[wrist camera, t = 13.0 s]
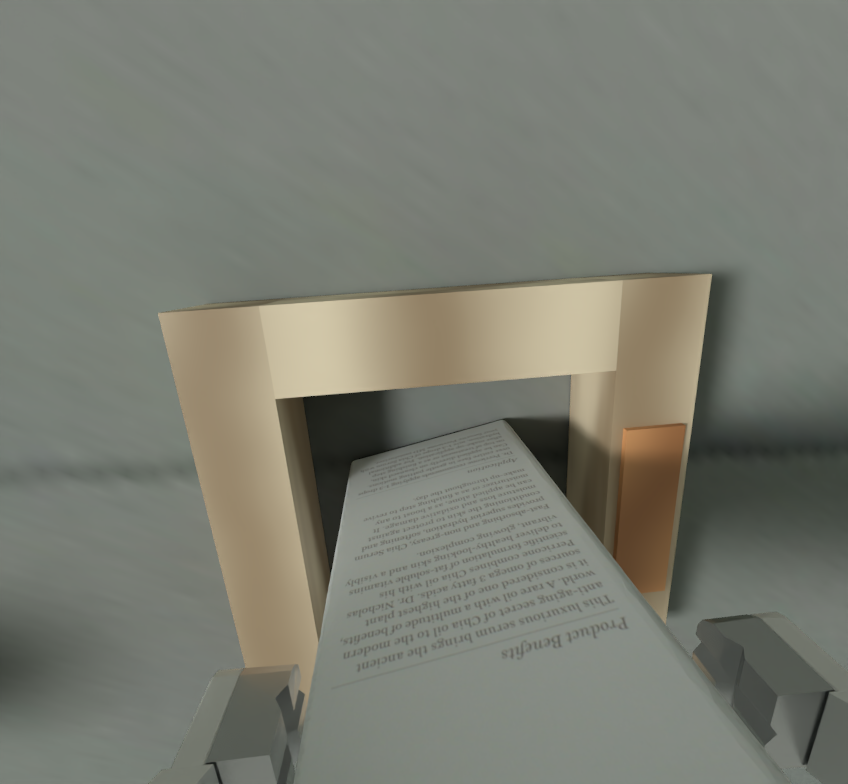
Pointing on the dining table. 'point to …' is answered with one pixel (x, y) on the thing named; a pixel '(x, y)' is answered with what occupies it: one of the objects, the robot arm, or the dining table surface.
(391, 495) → the skincare box
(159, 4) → the dining table surface
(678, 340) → the frame
